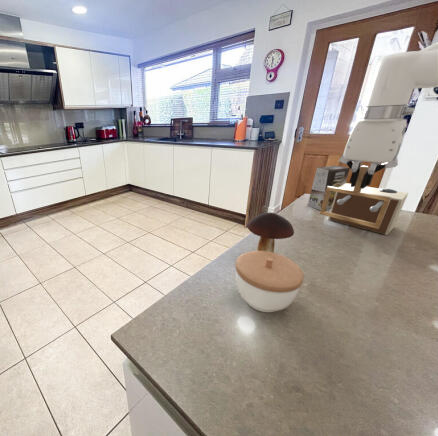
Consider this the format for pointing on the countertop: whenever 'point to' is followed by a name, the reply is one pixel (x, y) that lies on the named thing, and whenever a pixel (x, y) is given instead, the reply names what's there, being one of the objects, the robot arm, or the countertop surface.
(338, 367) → the countertop surface
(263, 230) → the decorative mushroom
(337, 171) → the coffee box
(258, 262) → the lidded bowl
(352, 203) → the cabinet
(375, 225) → the wooden frame with handle
